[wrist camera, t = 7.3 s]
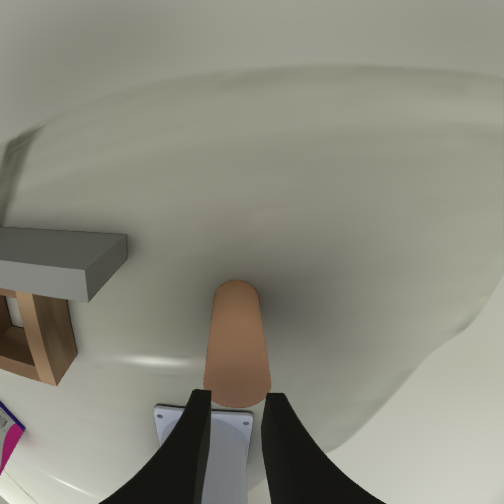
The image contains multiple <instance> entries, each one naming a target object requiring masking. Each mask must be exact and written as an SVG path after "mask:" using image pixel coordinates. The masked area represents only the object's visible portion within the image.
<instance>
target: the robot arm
mask: <svg viewBox="0 0 504 504" xmlns="http://www.w3.org/2000/svg"><path fill="white" fill-rule="evenodd" d="M211 394H212V390H200V389H195V390H193V391H192V393H191V396H190V399H189V401H188V403H187V405H186V407H185V409H184V408H175V407H167V406H155V407H154V417H155V423H156V429H157V434H158V440H159V445H160V446H159V450H158V451H157V452H156V453H155V454H154V456H153V457H152V458H151V459H150V460H149V461H148V462H147V464H146V465H145V466H144V467H143V468H142V469H141V470H140V471H139V472H138V473H137V474H136V475H135V476H134V477H133V478H131V479H130V480H129V481H128V482H127V483H126V484H124V485H123V486H122V487H121V488H120V489H118V490H117V491H116V492H115V493H113V494H112V495H111V496H109V497H108V498H106V499H105V500H103V501H102V502H100V503H99V504H248V500H247V480H246V462H247V455H248V449H249V443H250V436H251V430H252V423H253V415H252V414H250V413H242V412H221V411H211ZM159 414H160V415H159ZM246 421H247V422H246ZM261 439H262V452H263V458H264V464H265V469H266V475H267V480H268V486H269V491H270V498H271V504H386V503H384V502H382V501H381V500H379V499H377V498H376V497H374V496H372V495H371V494H369V493H368V492H367V491H365V490H364V489H363V488H361V487H360V486H359V485H358V484H356V483H355V482H353V481H352V480H351V479H350V478H349V477H347V476H346V475H345V474H344V473H343V472H342V471H341V470H340V469H339V468H338V467H337V466H336V465H335V464H334V463H333V462H332V461H331V460H330V459H329V458H328V457H327V456H326V455H325V454H324V452H323V451H322V450H321V449H320V448H319V446H318V445H317V444H316V443H315V441H314V440H313V439H312V437H311V436H310V435H309V433H308V432H307V430H306V429H305V428H304V426H303V425H302V423H301V422H300V420H299V418H298V417H297V415H296V414H295V412H294V410H293V408H292V407H291V405H290V403H289V401H288V399H287V397H286V395H285V394H284V393H267V396H266V402H265V407H264V413H263V419H262V424H261Z"/></svg>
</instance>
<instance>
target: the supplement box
mask: <svg viewBox="0 0 504 504" xmlns="http://www.w3.org/2000/svg"><path fill="white" fill-rule="evenodd" d="M24 430H25V427H24V426H23V425H22V424H21V423H20V422H19V421H18V420H17V419H16V418H15V417H14V416H13V415H12V414H11V413H10V412H9V411H8V410H7V409H6V408H5V407H4V405H3V404H2V403H1V402H0V475H1V473H2V471H3V469H4V467H5V465H6V463H7V461H8V459H9V457H10V456H11V454H12V452H13V450H14V448H15V446H16V444H17V443H18V441H19V439H20V437H21V436H22V434H23V432H24Z"/></svg>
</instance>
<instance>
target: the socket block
mask: <svg viewBox="0 0 504 504" xmlns="http://www.w3.org/2000/svg"><path fill="white" fill-rule="evenodd" d="M4 296H8V297H13V298H17V301H18V306H19V310H20V314H21V318H22V322H23V326H24V329H23V328H19V327H15V326H12V325H11V321H10V317H9V314H8V310H7V305H6V301H5V297H4ZM76 356H77V351H76V346H75V342H74V337H73V333H72V328H71V323H70V317H69V312H68V306H67V300H66V299H60V298H54V297H48V296H42V295H36V294H30V293H25V292H19V291H14V290H9V289H3V288H0V369H3V370H6V371H9V372H12V373H15V374H18V375H21V376H24V377H27V378H30V379H33V380H36V381H40V382H43V383H47V384H50V385H54V386H57V385H58V384H59V382H60V380H61V379H62V377H63V376H64V374H65V373H66V371H67V369H68V368H69V366H70V365H71V363H72V362H73V360H74V359H75V357H76Z"/></svg>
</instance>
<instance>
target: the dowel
mask: <svg viewBox="0 0 504 504" xmlns="http://www.w3.org/2000/svg"><path fill="white" fill-rule="evenodd" d="M203 385H204V390H212V394H211V399H212V400H213V401H214V402H216V403H218V404H220V405H222V406H225V407H230V408H245V407H250V406H253V405H255V404H257V403H259V402H261V401H262V400H263V399H264V398H265V397H266V396H267V393H269V392H270V389H271V377H270V371H269V364H268V358H267V351H266V344H265V338H264V331H263V325H262V318H261V311H260V305H259V298H258V294H257V292H256V290H255V288H254V287H253V286H252V285H250V284H249V283H247V282H245V281H241V280H231V281H228V282H225V283H224V284H222V285H221V286H220V287H219V288H218V289H217V291H216V293H215V296H214V303H213V310H212V318H211V325H210V333H209V341H208V349H207V357H206V365H205V374H204V383H203Z"/></svg>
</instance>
